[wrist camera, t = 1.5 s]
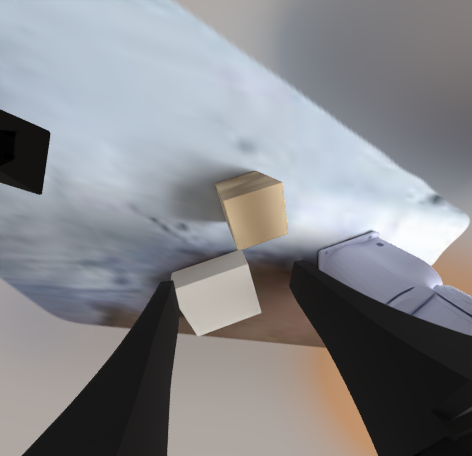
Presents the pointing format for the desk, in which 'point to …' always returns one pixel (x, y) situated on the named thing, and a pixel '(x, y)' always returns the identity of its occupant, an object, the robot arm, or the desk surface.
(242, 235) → the oak block
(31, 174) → the black mounting plate
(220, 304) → the base
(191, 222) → the desk surface
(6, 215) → the desk surface
